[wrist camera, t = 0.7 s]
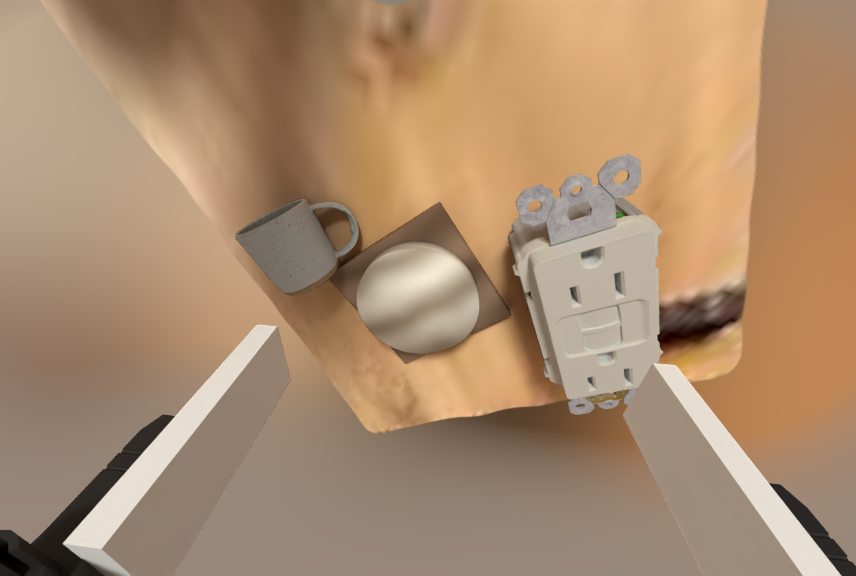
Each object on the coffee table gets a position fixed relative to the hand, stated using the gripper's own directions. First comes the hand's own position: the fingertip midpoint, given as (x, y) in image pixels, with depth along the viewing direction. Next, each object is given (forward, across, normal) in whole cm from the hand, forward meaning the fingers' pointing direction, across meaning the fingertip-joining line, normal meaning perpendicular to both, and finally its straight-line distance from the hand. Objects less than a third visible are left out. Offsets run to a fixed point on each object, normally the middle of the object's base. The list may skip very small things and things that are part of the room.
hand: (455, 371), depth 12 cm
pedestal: (+25, -4, -12) cm, 28 cm away
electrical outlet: (+25, +14, -9) cm, 30 cm away
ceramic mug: (+25, -16, -6) cm, 30 cm away
